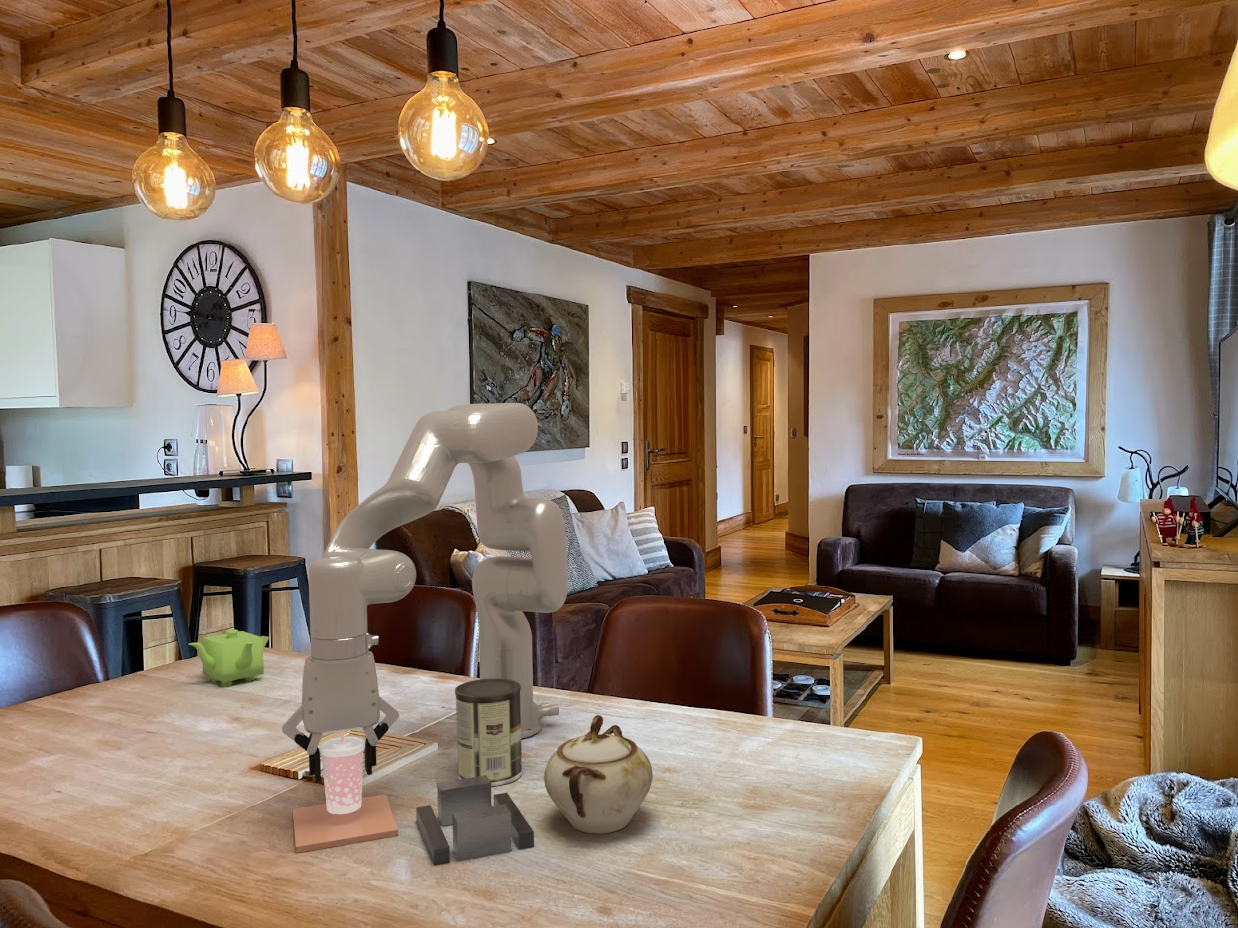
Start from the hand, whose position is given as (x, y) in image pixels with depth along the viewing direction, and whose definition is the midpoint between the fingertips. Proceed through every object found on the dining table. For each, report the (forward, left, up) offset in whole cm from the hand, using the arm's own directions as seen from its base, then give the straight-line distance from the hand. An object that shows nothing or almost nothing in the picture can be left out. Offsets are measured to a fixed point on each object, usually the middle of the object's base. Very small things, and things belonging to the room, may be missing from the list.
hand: (343, 774), depth 126 cm
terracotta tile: (0, 0, -7) cm, 7 cm away
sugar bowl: (-33, +13, -7) cm, 36 cm away
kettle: (+17, -88, -7) cm, 90 cm away
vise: (-16, +10, -7) cm, 20 cm away
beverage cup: (0, 0, -5) cm, 5 cm away
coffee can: (-23, -10, -7) cm, 26 cm away
